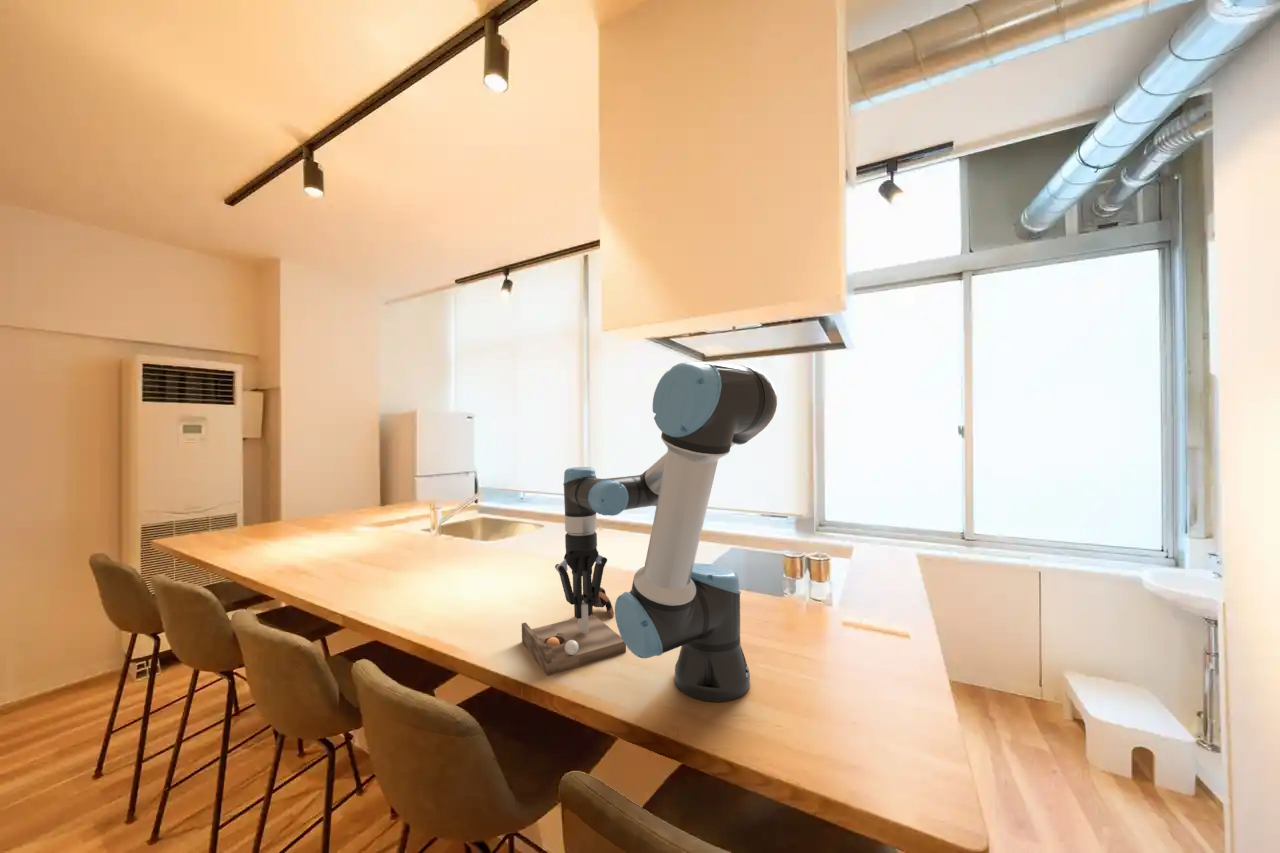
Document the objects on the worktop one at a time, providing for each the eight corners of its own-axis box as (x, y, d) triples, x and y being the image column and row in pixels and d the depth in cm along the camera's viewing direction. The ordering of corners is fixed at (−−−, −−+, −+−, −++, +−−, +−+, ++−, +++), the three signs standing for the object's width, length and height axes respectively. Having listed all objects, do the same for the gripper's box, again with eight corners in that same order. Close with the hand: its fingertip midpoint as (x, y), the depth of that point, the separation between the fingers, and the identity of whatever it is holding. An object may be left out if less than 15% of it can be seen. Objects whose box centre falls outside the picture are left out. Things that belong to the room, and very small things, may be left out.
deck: (625, 651, 108) (625, 632, 108) (547, 675, 98) (546, 654, 98) (592, 623, 123) (592, 606, 123) (522, 641, 113) (521, 623, 113)
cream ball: (580, 655, 101) (580, 641, 101) (567, 659, 100) (567, 645, 100) (575, 649, 104) (575, 636, 104) (562, 653, 102) (562, 639, 102)
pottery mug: (614, 625, 123) (598, 600, 122) (584, 638, 125) (568, 614, 124) (620, 597, 135) (605, 574, 133) (592, 609, 137) (578, 587, 135)
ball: (563, 640, 108) (550, 640, 106) (560, 654, 108) (547, 654, 106) (558, 634, 111) (545, 635, 109) (555, 648, 110) (542, 649, 109)
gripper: (597, 525, 118) (600, 618, 118) (549, 533, 111) (551, 631, 111) (612, 530, 112) (614, 628, 112) (561, 539, 105) (564, 643, 105)
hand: (583, 630), depth 111 cm, fingers closed
